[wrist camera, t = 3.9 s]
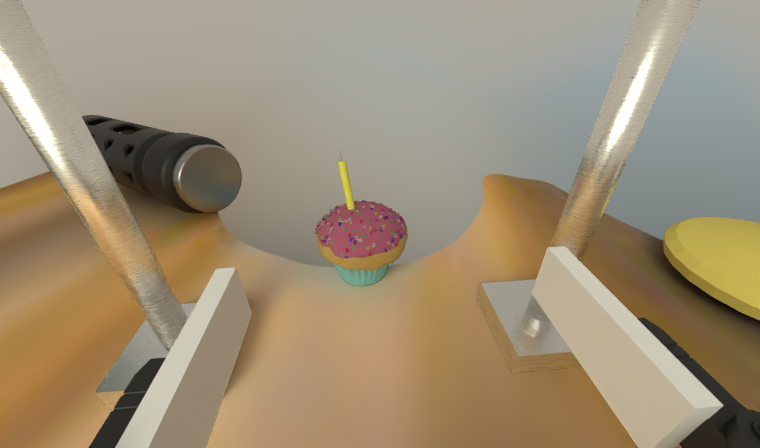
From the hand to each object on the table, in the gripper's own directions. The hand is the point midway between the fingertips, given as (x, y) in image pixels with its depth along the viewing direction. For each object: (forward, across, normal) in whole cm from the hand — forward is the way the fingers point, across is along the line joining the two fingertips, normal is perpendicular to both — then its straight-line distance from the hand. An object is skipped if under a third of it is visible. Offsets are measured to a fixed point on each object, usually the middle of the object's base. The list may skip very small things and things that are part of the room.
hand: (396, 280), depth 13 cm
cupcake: (+14, -1, -12) cm, 18 cm away
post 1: (+5, -15, -11) cm, 19 cm away
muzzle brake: (+33, -30, -11) cm, 47 cm away
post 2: (+6, +12, -12) cm, 18 cm away
